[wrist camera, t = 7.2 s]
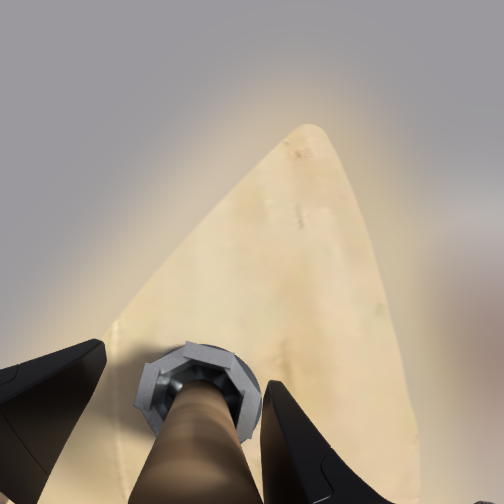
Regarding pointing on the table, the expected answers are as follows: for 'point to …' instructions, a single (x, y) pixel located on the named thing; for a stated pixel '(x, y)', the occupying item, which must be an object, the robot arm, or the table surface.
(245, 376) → the flanged castle nut
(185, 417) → the walnut pin
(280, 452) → the robot arm
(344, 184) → the table surface
